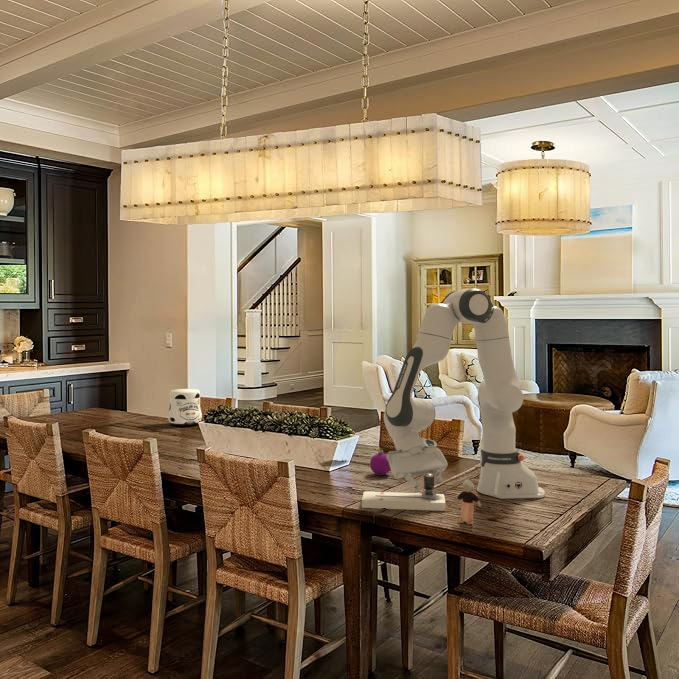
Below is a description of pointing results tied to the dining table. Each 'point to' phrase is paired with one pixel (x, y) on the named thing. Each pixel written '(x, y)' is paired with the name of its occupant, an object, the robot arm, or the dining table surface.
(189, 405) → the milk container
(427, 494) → the fader
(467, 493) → the grandmother figurine
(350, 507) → the dining table surface
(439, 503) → the fader console
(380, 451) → the christmas ornament
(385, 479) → the dining table surface
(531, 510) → the dining table surface
